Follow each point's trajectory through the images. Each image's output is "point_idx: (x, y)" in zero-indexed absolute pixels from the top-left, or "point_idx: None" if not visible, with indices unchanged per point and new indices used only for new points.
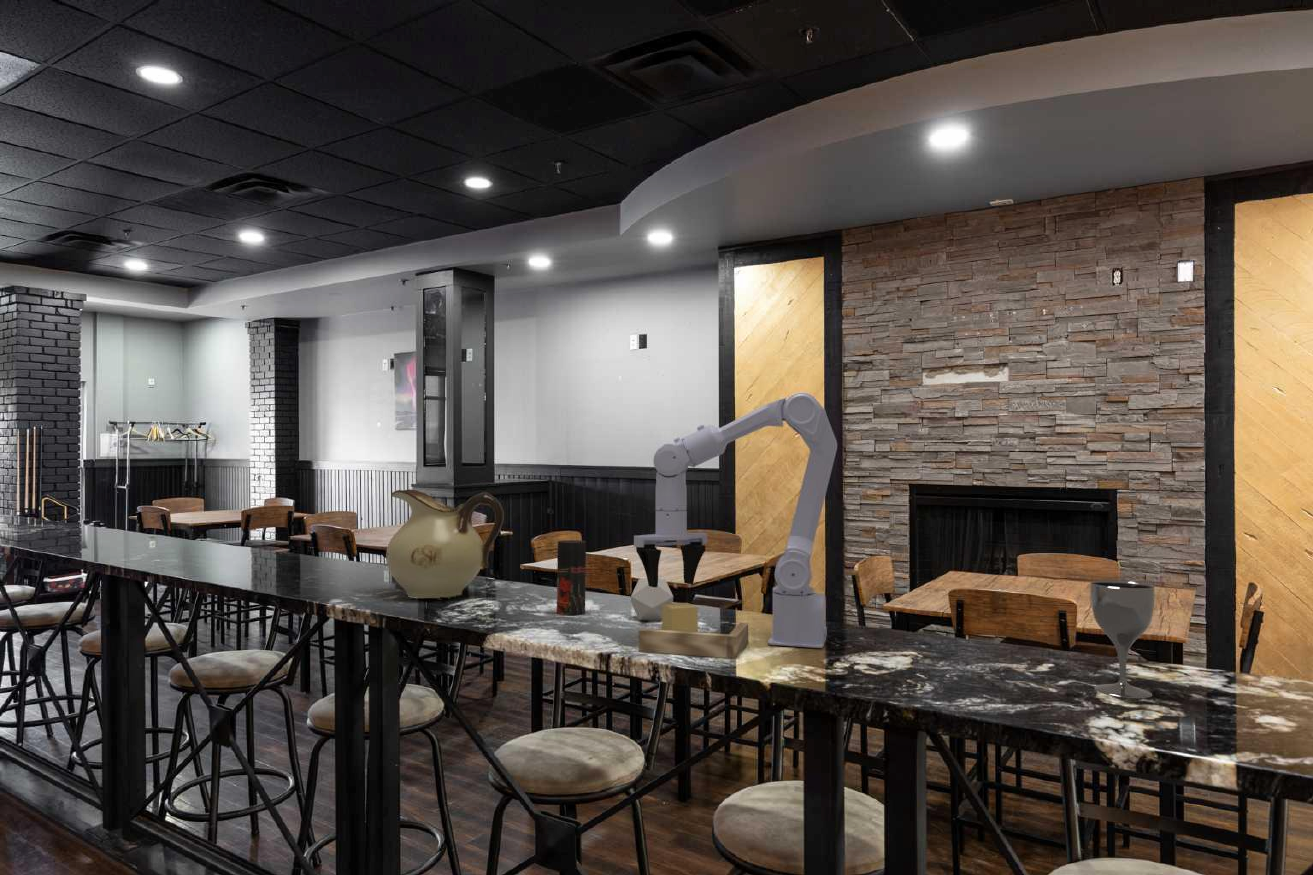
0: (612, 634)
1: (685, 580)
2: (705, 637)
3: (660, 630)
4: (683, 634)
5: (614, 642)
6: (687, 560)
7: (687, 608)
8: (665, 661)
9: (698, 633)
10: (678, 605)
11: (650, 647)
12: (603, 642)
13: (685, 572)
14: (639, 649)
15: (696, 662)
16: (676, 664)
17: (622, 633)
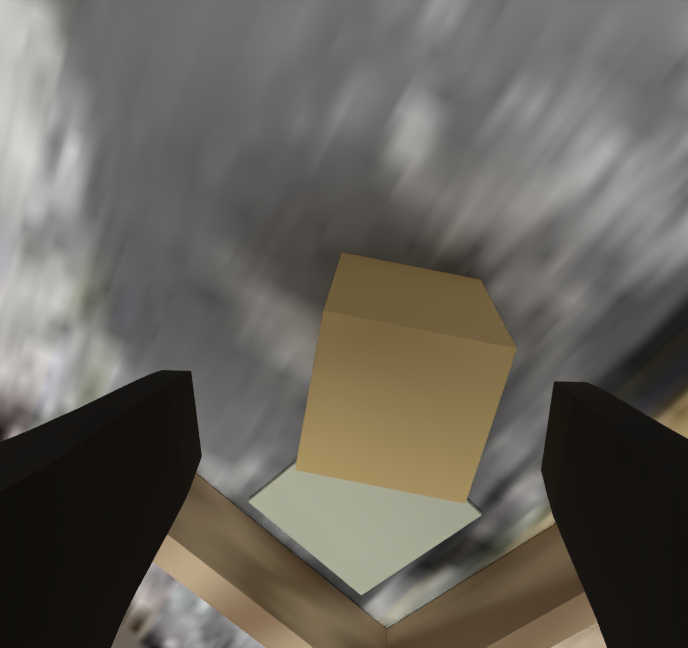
0: (124, 68)
1: (558, 415)
2: None
3: (165, 544)
4: (232, 618)
5: (76, 257)
6: (655, 603)
7: (396, 487)
8: (154, 589)
9: (287, 646)
10: (392, 406)
11: None
12: (27, 233)
13: (590, 456)
14: None
15: (241, 637)
16: (171, 627)
17: (186, 69)
